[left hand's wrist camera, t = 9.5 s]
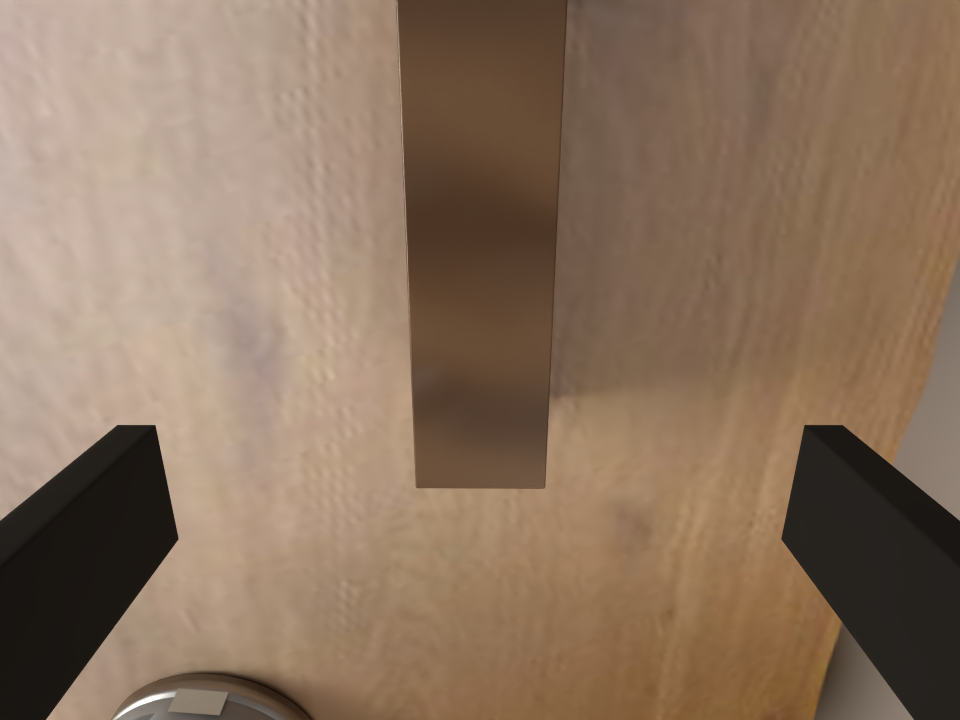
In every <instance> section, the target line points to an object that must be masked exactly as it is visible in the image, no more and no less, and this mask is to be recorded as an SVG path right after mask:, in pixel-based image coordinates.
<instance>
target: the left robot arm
mask: <svg viewBox="0 0 960 720" xmlns="http://www.w3.org/2000/svg"><path fill="white" fill-rule="evenodd" d="M177 541H178V534H177V529H176V524H175V519H174V514H173V509H172V504H171V499H170V495H169V490H168V485H167V480H166V475H165V470H164V465H163V460H162V455H161V450H160V445H159V441H158V436H157V431H156V426H155V425H117V426H116V427H115V428H113V429H112V430H111V431H110V432H109V433H107V434H106V435H105V436H104V437H102V438H101V439H100V440H99V441H98V442H96V443H95V444H94V445H93V446H91V447H90V448H89V449H88V450H87V451H85V452H84V453H83V454H82V455H80V456H79V457H78V458H77V459H75V460H74V461H73V462H72V463H71V464H69V465H68V466H67V467H66V468H64V469H63V470H62V471H61V472H60V473H58V474H57V475H56V476H55V477H53V478H52V479H51V480H50V481H49V482H47V483H46V484H45V485H44V486H42V487H41V488H40V489H39V490H38V491H36V492H35V493H34V494H33V495H31V496H30V497H29V498H28V499H26V500H25V501H24V502H23V503H22V504H20V505H19V506H18V507H17V508H15V509H14V510H13V511H12V512H11V513H9V514H8V515H7V516H6V517H4V518H3V519H2V520H1V521H0V720H46V719H47V717H48V716H49V715H50V713H51V712H52V711H53V709H54V708H55V707H56V705H57V704H58V702H59V701H60V700H61V698H62V697H63V696H64V694H65V693H66V692H67V690H68V689H69V688H70V686H71V685H72V683H73V682H74V681H75V679H76V678H77V677H78V675H79V674H80V673H81V671H82V670H83V668H84V667H85V666H86V664H87V663H88V662H89V660H90V659H91V658H92V656H93V655H94V654H95V652H96V651H97V649H98V648H99V647H100V645H101V644H102V643H103V641H104V640H105V639H106V637H107V636H108V634H109V633H110V632H111V630H112V629H113V628H114V626H115V625H116V624H117V622H118V621H119V620H120V618H121V617H122V615H123V614H124V613H125V611H126V610H127V609H128V607H129V606H130V605H131V603H132V602H133V600H134V599H135V598H136V596H137V595H138V594H139V592H140V591H141V590H142V588H143V587H144V586H145V584H146V583H147V581H148V580H149V579H150V577H151V576H152V575H153V573H154V572H155V571H156V569H157V568H158V566H159V565H160V564H161V562H162V561H163V560H164V558H165V557H166V556H167V554H168V553H169V552H170V550H171V549H172V547H173V546H174V545H175V543H176V542H177ZM782 541H783V542H784V543H785V545H786V546H787V547H788V549H789V550H790V552H791V553H792V554H793V556H794V557H795V558H796V560H797V561H798V562H799V564H800V565H801V566H802V568H803V569H804V571H805V572H806V573H807V575H808V576H809V577H810V579H811V580H812V581H813V583H814V584H815V586H816V587H817V588H818V590H819V591H820V592H821V594H822V595H823V596H824V598H825V599H826V600H827V602H828V603H829V605H830V606H831V607H832V609H833V610H834V611H835V613H836V614H837V615H838V617H839V618H840V620H841V621H842V622H843V624H844V625H845V626H846V628H847V629H848V630H849V632H850V633H851V634H852V636H853V637H854V639H855V640H856V641H857V643H858V644H859V645H860V647H861V648H862V649H863V651H864V652H865V654H866V655H867V656H868V658H869V659H870V660H871V662H872V663H873V664H874V666H875V667H876V668H877V670H878V671H879V673H880V674H881V675H882V677H883V678H884V679H885V681H886V682H887V683H888V685H889V686H890V687H891V689H892V690H893V692H894V693H895V694H896V696H897V697H898V698H899V700H900V701H901V702H902V704H903V705H904V707H905V708H906V709H907V711H908V712H909V713H910V715H911V716H912V717H913V719H914V720H960V521H959V520H958V519H957V518H956V517H954V516H953V515H952V514H951V513H949V512H948V511H947V510H946V509H945V508H943V507H942V506H941V505H940V504H938V503H937V502H936V501H935V500H934V499H932V498H931V497H930V496H929V495H927V494H926V493H925V492H924V491H922V490H921V489H920V488H919V487H918V486H916V485H915V484H914V483H913V482H911V481H910V480H909V479H908V478H907V477H905V476H904V475H903V474H902V473H900V472H899V471H898V470H897V469H896V468H894V467H893V466H892V465H891V464H889V463H888V462H887V461H886V460H885V459H883V458H882V457H881V456H880V455H878V454H877V453H876V452H875V451H873V450H872V449H871V448H870V447H869V446H867V445H866V444H865V443H864V442H862V441H861V440H860V439H859V438H858V437H856V436H855V435H854V434H853V433H851V432H850V431H849V430H848V429H847V428H845V427H844V426H843V425H805V426H804V431H803V436H802V441H801V445H800V450H799V455H798V460H797V465H796V470H795V475H794V480H793V485H792V490H791V495H790V499H789V504H788V509H787V514H786V519H785V524H784V529H783V534H782ZM111 720H310V718H309V717H308V716H307V715H306V714H305V713H304V712H303V711H302V710H301V709H299V708H298V707H297V706H296V705H295V704H293V703H292V702H291V701H289V700H288V699H286V698H285V697H283V696H282V695H280V694H278V693H276V692H274V691H272V690H271V689H268V688H266V687H264V686H261V685H259V684H256V683H253V682H250V681H247V680H244V679H240V678H236V677H231V676H225V675H217V674H187V675H179V676H173V677H169V678H165V679H161V680H158V681H156V682H153V683H151V684H149V685H146V686H144V687H142V688H141V689H139V690H138V691H136V692H135V693H133V694H132V695H131V696H129V697H128V698H127V699H126V700H125V701H124V702H123V703H122V704H121V706H120V707H119V708H118V710H117V711H116V713H115V714H114V716H113V718H112V719H111Z"/></svg>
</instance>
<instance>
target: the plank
mask: <svg viewBox="0 0 960 720" xmlns="http://www.w3.org/2000/svg"><path fill="white" fill-rule="evenodd" d="M396 12H397V36H398V61H399V86H400V111H401V135H402V160H403V185H404V210H405V234H406V259H407V284H408V309H409V333H410V358H411V383H412V408H413V432H414V457H415V482H416V488H515V489H544V488H545V480H546V458H547V436H548V414H549V392H550V370H551V348H552V327H553V305H554V283H555V261H556V239H557V217H558V195H559V173H560V151H561V130H562V108H563V86H564V64H565V42H566V20H567V0H396Z"/></svg>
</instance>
